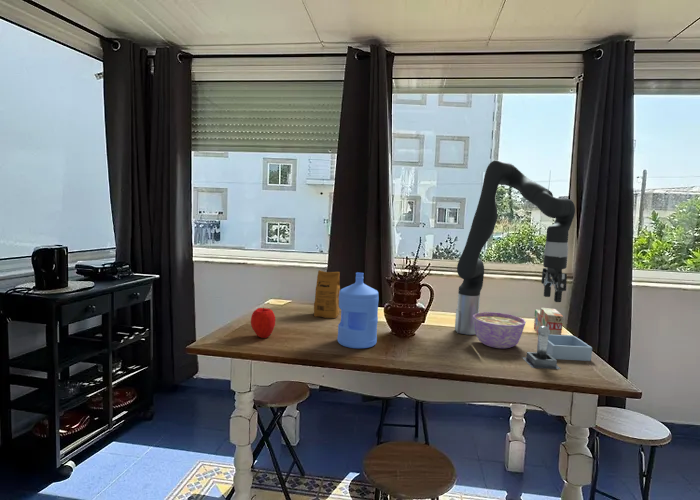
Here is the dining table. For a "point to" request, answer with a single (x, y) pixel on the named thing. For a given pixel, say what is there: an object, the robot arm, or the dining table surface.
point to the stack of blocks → (549, 320)
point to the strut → (542, 342)
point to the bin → (568, 348)
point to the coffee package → (327, 295)
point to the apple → (263, 322)
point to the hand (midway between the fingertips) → (552, 299)
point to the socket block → (541, 361)
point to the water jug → (358, 315)
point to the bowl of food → (498, 329)
